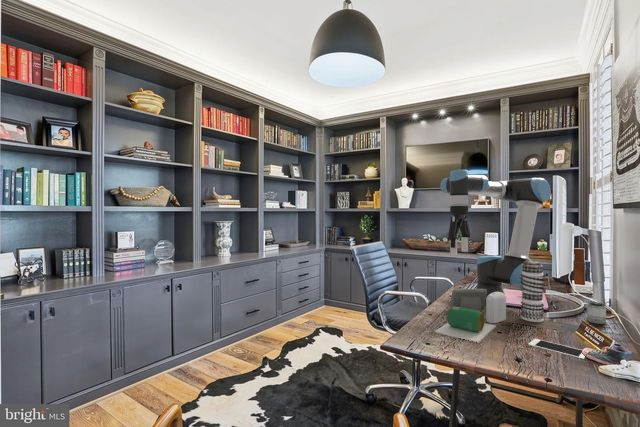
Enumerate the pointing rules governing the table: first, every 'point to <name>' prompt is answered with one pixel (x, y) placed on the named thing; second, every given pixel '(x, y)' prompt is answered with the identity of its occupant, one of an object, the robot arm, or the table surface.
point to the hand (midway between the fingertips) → (459, 253)
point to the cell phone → (557, 348)
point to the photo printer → (496, 307)
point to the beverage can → (465, 319)
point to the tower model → (532, 291)
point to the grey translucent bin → (469, 298)
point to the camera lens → (596, 312)
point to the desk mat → (465, 332)
